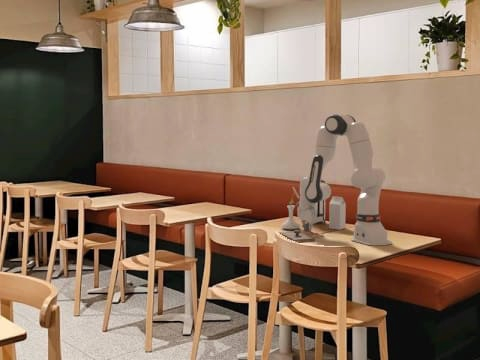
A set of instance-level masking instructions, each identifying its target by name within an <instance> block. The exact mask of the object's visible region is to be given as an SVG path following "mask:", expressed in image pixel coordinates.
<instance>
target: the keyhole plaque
mask: <svg viewBox="0 0 480 360" xmlns="http://www.w3.org/2000/svg"><path fill="white" fill-rule="evenodd" d="M305 223H306V224H304V228H303V230H300V231H301V232H302V233H304V234H306V235H309V236H311V237H313V238H315V239H316V238H324V237H325V234H322V233H320V232H317V231H315V230H314V229H312V230H308V227H309V223H308V222H305Z"/></svg>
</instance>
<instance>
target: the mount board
mask: <svg viewBox="0 0 480 360" xmlns="http://www.w3.org/2000/svg"><path fill="white" fill-rule="evenodd" d="M279 233H280V234H282V235H283V236H285V237H287V238H288V239H290V240H293V241H301V242H300V243H306V242H310V243H311V242H316V237H315V238H313V237H311V236H309V235H306V234H304V233H302V232H301V230H300V229H293V231H280V232H278V234H279ZM288 239H287V240H288ZM290 240H289V241H290Z"/></svg>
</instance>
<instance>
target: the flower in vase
mask: <svg viewBox="0 0 480 360" xmlns="http://www.w3.org/2000/svg"><path fill="white" fill-rule="evenodd" d="M292 189H293V194H292V196H291V200H290V201H289V202H288V204H290V205H287V206H286V207H287V209H288V218H287V219H286V220H285V221H284V222H283V223H282V224H281V228H283V229H285V230H299V228H301V224H300V223H299V222H298V221H296V219H295V218H294V209H295V207H296V205H293V204H294V203H295V201H294V199H293V198H294V197H293V196H294V195H295V196H296V197H297V199H300V195H299V193H298V192H297V190H296V189H295V187H292Z"/></svg>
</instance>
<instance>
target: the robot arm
mask: <svg viewBox="0 0 480 360" xmlns="http://www.w3.org/2000/svg"><path fill="white" fill-rule="evenodd" d="M339 136H341V137H342V136H346V137H347V140H348V145H349V148H350V152H351V153H350V154H351V158H352V173H351V175H350V183H352V186H353V187H355V188H356V189H360V193H359V195H358V197H357V206H356V207H357V213H356V216H355V217H356V222H355V224H354V225H353V226H354V229H353V237H352V238H351V242H356V243H359V244H363V245H367V246H386V245H393V242H392V241H391V240H390V239H388V230H387V229H385V227H384V226H383V224H382V223H381V216H380V213H379V211H380V210H379V205H380V203H379V202H380V195H381V191H382V187H383V184H384V182H385V180H386V173H385V171H384V170H383V169H382V168H380V167H378V166H373V157H374V151H373V147H372V142H371V139H370V136H369V132H368V130H367V128H366V126H365V124H364V123H363V122H361V121H357V120H356V119H355V118H354V116H352V115H349V114H343V113H342V114H341V113H338V114H332V115H329V116H328V117H327V118H326V119H325V122H324V125H322V126H320V127H319V128H318V130H317V134H316V139H315V148H314V155H313V158H312V162H311V167H310V173H309V176H307V177H302V178H301V179H300V181H299V201H298V202H297V203H296V207H297V218H298V219H299V220H301V225H302V228H303V229H304V224H306V223H308V222H309V227H308V230H313V227H314V224H317V223H318V222H317V212H316V210H315V203H317V202H319V201H322V200H325V201H326V200H327V199H329V198H330V197H332V196H331V195H332V188H331V186H330V185H329V184H327V183H326V182H325V183H326V184H325V183H322V182H321V180H322V175H323V171H324V168H325V167H326V166H327V164H329V162H331V161H332V160H334V157H335V154H336V147H337V139H338V137H339Z"/></svg>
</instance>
